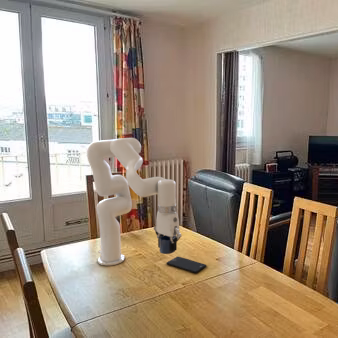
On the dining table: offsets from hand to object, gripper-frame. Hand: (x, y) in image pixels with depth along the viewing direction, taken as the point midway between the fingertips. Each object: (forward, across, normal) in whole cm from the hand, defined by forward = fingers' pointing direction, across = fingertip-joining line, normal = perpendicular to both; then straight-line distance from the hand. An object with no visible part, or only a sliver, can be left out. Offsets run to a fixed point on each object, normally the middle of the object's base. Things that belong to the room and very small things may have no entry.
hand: (167, 248), depth 141 cm
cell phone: (+15, +4, -16) cm, 23 cm away
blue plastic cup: (+1, 0, 0) cm, 1 cm away
